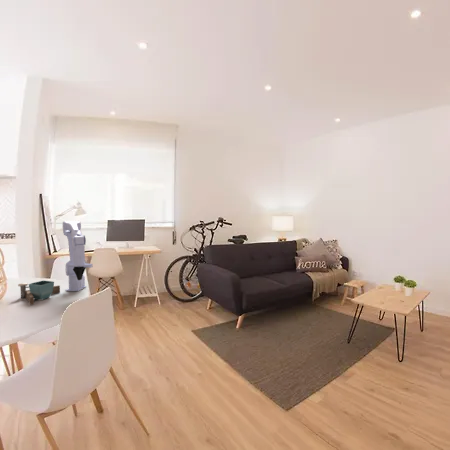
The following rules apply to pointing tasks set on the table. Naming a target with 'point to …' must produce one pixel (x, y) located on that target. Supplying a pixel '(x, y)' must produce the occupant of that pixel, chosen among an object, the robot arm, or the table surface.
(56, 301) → the table surface
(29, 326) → the table surface
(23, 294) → the v jig
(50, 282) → the flower pot
